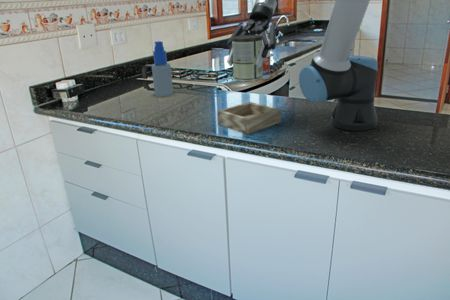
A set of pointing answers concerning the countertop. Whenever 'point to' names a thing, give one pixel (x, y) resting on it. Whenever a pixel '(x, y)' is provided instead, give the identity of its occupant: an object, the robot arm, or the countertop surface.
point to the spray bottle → (161, 72)
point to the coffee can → (246, 57)
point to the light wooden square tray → (249, 117)
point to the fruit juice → (266, 62)
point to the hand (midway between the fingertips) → (243, 64)
